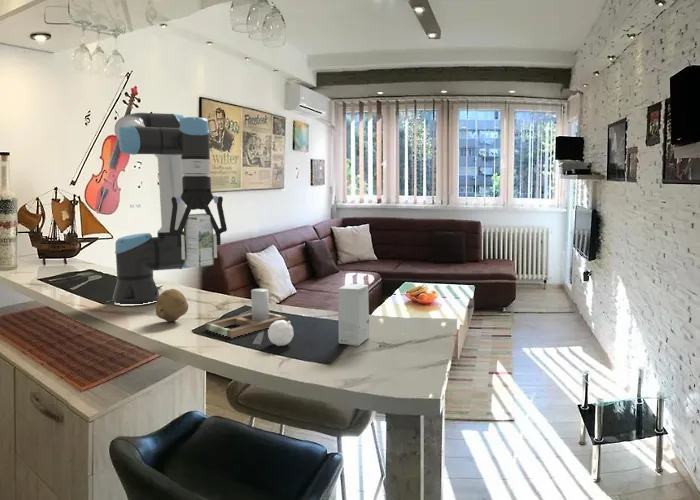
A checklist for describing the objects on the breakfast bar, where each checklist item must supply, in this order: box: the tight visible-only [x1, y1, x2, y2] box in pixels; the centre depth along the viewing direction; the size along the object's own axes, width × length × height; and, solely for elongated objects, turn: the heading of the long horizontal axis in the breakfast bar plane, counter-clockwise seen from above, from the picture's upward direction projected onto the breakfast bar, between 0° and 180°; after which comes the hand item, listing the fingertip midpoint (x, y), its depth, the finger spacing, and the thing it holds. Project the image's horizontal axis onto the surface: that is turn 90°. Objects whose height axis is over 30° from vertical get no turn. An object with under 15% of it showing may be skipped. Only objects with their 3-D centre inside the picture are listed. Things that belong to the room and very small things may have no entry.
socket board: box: [205, 312, 288, 339], centre depth 159 cm, size 12×20×2 cm, turn 139°
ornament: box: [267, 320, 295, 347], centre depth 142 cm, size 6×7×7 cm
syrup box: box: [184, 212, 215, 268], centre depth 152 cm, size 6×6×14 cm
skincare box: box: [337, 283, 370, 347], centre depth 145 cm, size 8×6×15 cm
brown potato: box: [155, 288, 189, 323], centre depth 164 cm, size 9×9×10 cm
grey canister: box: [250, 288, 270, 322], centre depth 162 cm, size 5×5×10 cm
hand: (199, 257), depth 153 cm, fingers closed on syrup box, 8 cm apart
